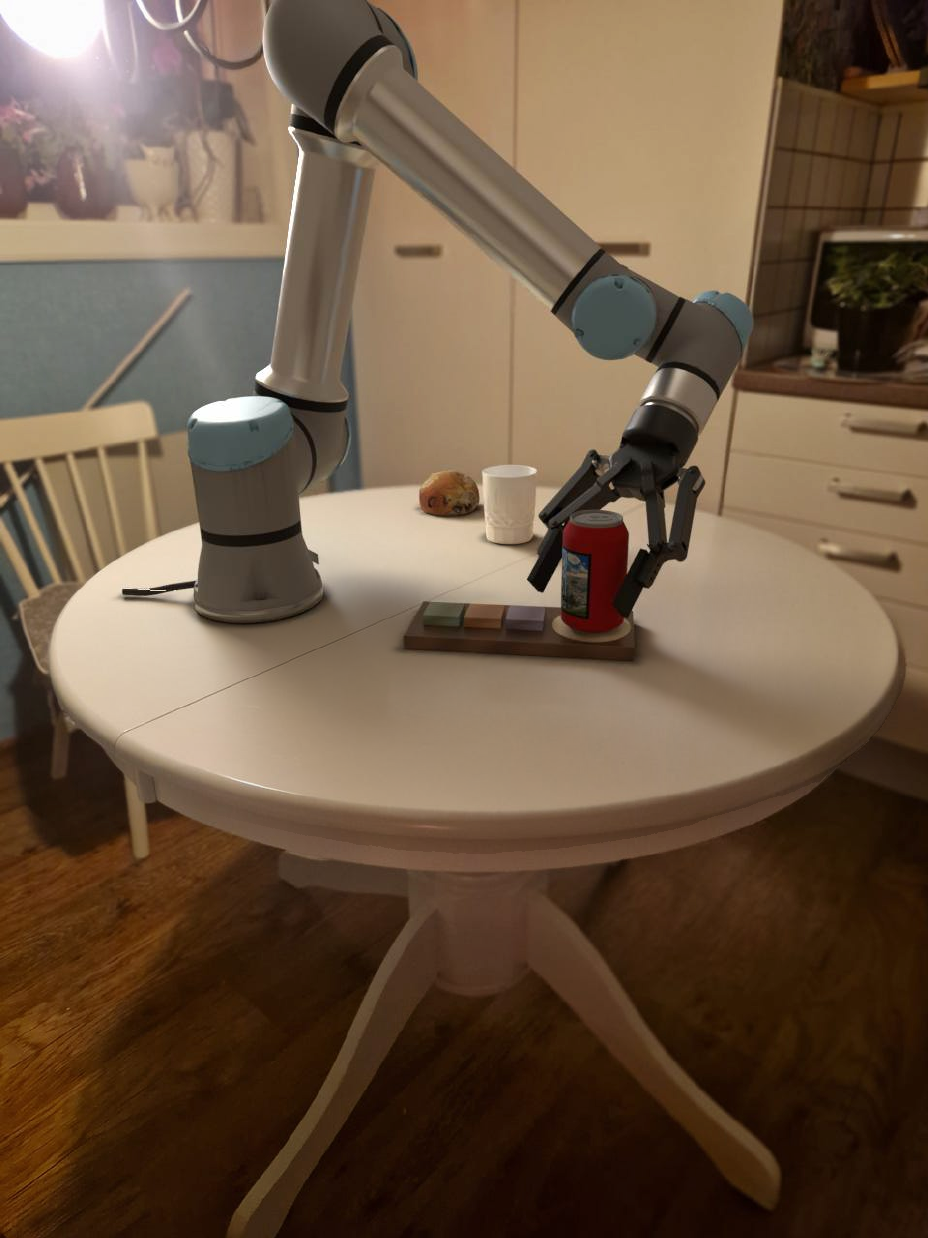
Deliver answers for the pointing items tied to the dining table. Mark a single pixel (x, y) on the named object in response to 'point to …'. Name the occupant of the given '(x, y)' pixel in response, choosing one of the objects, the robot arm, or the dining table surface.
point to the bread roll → (449, 494)
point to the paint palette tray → (513, 632)
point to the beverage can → (593, 570)
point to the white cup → (509, 503)
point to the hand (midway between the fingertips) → (575, 598)
